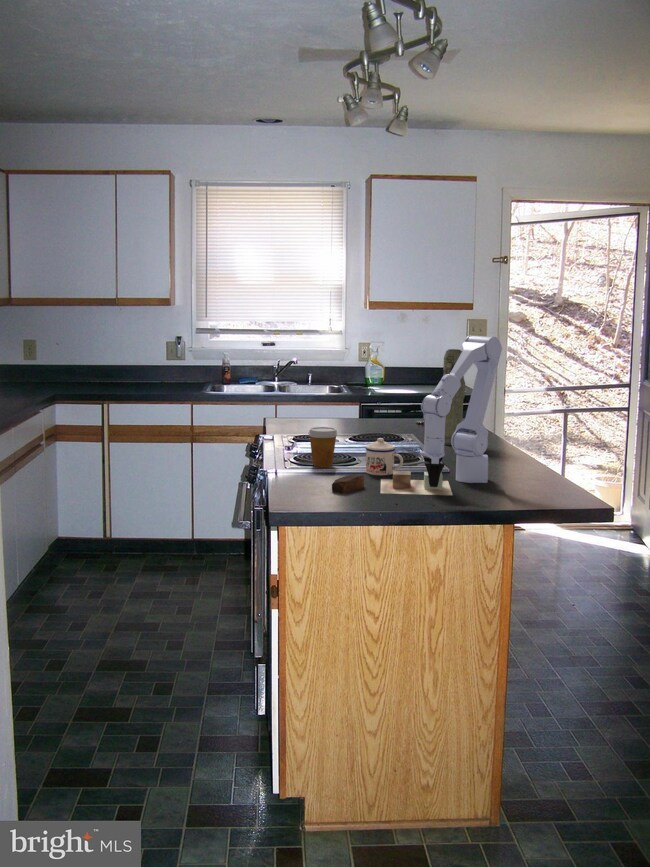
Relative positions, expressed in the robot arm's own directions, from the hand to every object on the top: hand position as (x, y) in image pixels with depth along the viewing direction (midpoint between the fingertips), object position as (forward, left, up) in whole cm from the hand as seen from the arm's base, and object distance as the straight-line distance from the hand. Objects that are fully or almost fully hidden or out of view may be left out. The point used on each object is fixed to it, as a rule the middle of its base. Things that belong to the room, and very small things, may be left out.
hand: (432, 483), depth 250 cm
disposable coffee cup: (+34, -31, -2) cm, 46 cm away
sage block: (0, 0, -1) cm, 1 cm away
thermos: (-11, -78, -2) cm, 79 cm away
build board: (+5, 0, -2) cm, 5 cm away
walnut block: (+9, 0, -1) cm, 9 cm away
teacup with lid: (+14, -18, -2) cm, 23 cm away
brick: (+24, +5, -3) cm, 25 cm away
